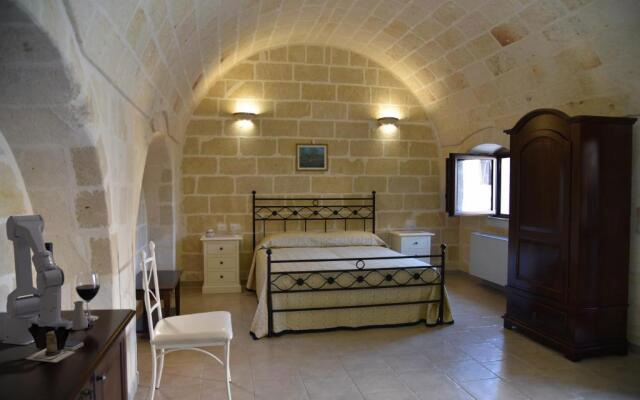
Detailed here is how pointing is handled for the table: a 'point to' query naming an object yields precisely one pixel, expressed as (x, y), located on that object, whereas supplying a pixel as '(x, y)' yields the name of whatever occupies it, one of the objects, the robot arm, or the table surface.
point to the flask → (79, 317)
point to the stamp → (51, 344)
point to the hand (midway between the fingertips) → (50, 348)
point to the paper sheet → (42, 357)
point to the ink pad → (72, 345)
